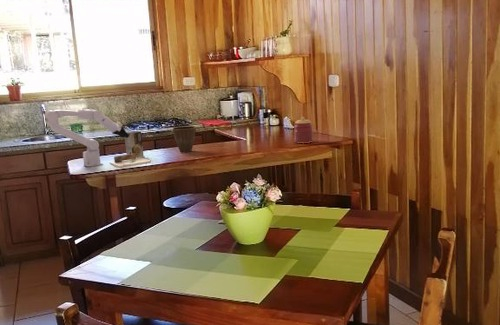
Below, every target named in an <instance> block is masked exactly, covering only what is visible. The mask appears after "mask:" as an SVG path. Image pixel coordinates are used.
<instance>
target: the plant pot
mask: <svg viewBox="0 0 500 325" xmlns="http://www.w3.org/2000/svg"><path fill="white" fill-rule="evenodd" d="M172 131H173V135H174V139H175V142H176V145H177V148H178V151H179V152H180V153H190V152H192V150H193V147H194V142H195V136H196V126H193V125H184V126H183V125H182V126H181V125H180V126H175V127H173V128H172Z"/></svg>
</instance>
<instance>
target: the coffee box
mask: <svg viewBox="0 0 500 325" xmlns="http://www.w3.org/2000/svg"><path fill="white" fill-rule="evenodd" d="M127 133H128V135H129V137H128V138H126V137H124V144H125V152H126V155H127V154H134V153H135V154H136V158H140V157H144V154H145V153H144V147H143V137H142V131H139V130H132V131H128V132H127Z"/></svg>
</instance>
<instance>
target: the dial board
mask: <svg viewBox="0 0 500 325" xmlns="http://www.w3.org/2000/svg"><path fill="white" fill-rule="evenodd" d="M150 162H151V163H152V161H151V160H149V159H146V158H143V157H142V156H140V157H136V159H131V160H124V161H122V162H115V160H114V161H110V162H109V164H110V165H111V166H115V167H116V168H125V167H131V166H136V165H144V164H150Z"/></svg>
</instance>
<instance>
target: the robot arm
mask: <svg viewBox="0 0 500 325" xmlns="http://www.w3.org/2000/svg"><path fill="white" fill-rule="evenodd" d="M63 117H77V118H78V119H79V120H95V121H96V122H97V123H99V124H100V125H101V126H103V127H104V128H106V129H107V130H108V131H110V132H111V133H112V134H113V135H116V136H119V137H121V138H124V139H125V137H126V138H128V137H129V135H128V132H127V131H126V130H125V128H124V127H123V126H119V124H120V122H114V120H112V119H110V118H109V117H108V116H106V115H104V114H103V113H102V112H101V110H100V111H99V110H97V109H92V108H91V109H85V108H81V109H78V110H69V109H67V110H66V109H54V110H52V109H48V110H46V112H45V113H44V118H45V122H46V123H47V124H48V126H49V128H50V129H51V131H53V132H55V133H56V134H59V135H61V136H64V137H66V138H68V139H70V140H73V141H75V142H77V143H79V144H81V145H84V146H86V151H82V159H83V165H84V166H86V167H94V166H95V167H96V166H99V165H103V162H101V156H100V148H99V146H100V144H99V141H97V140H95V139H94V138H90V137H86V136H84V135H81V134H79V133H77V132H74V130H70V129H68V128H67V127H64V126H62V125H60V122H59V119H61V118H63Z"/></svg>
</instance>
